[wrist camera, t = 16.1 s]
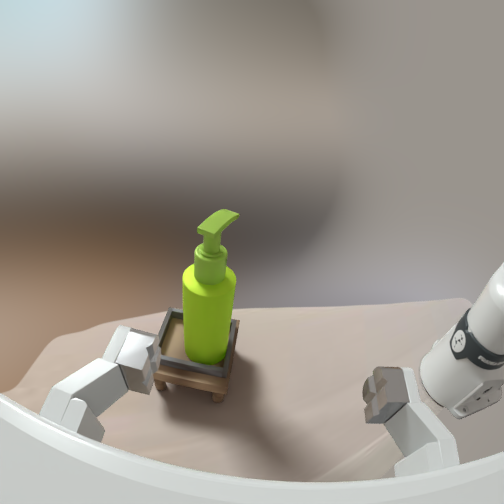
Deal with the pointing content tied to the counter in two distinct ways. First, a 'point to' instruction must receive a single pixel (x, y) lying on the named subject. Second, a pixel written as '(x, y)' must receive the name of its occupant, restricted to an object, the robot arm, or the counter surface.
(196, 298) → the soap dispenser
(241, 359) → the counter surface
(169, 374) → the stool
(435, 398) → the robot arm
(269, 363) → the counter surface
